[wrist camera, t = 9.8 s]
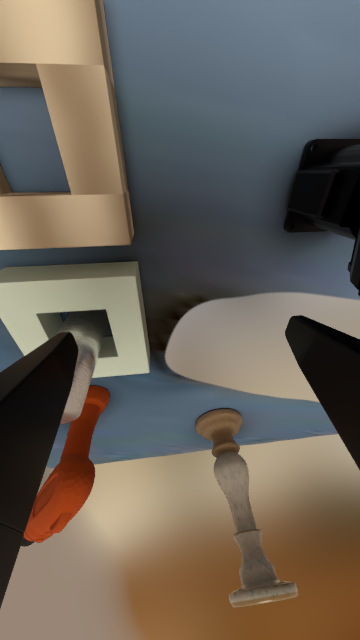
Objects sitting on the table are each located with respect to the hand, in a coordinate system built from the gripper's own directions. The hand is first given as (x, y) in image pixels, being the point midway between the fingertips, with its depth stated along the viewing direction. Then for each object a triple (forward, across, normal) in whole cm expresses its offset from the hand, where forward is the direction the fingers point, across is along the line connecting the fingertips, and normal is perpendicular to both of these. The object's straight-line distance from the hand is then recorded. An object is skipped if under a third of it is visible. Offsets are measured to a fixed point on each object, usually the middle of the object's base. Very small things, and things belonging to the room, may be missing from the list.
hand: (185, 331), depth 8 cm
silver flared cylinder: (+13, +9, +7) cm, 17 cm away
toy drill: (+13, +16, +26) cm, 33 cm away
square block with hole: (+13, +9, +8) cm, 18 cm away
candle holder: (+13, -8, +33) cm, 36 cm away
